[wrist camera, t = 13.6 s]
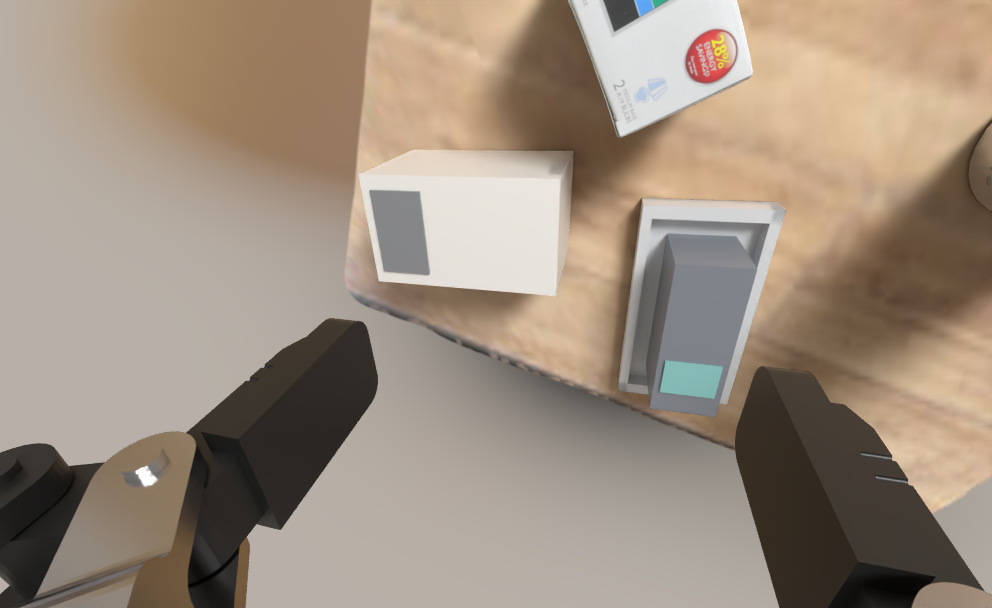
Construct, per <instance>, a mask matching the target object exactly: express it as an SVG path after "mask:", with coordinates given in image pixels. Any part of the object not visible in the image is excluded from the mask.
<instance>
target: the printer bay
mask: <svg viewBox="0 0 992 608" xmlns="http://www.w3.org/2000/svg"><path fill="white" fill-rule="evenodd" d="M573 157H574V151H515V150H411V151H409V152H407V153H405V154H402V155H400V156H398V157H396V158H394V159H391V160H389V161H387V162H385V163H383V164H380V165H378V166H376V167H374V168H372V169H370V170H367V171H365V172H363V173H361V174H359V179H360V184H361V190H362V195H363V200H364V205H365V211H366V216H367V221H368V226H369V232H370V237H371V242H372V247H373V253H374V258H375V263H376V268H377V274H378V279H379V281H383V282H395V283H407V284H419V285H431V286H443V287H454V288H466V289H478V290H490V291H502V292H514V293H526V294H537V295H549V296H556V294H557V290H558V287H559V283H560V279H561V275H562V272H563V268H564V264H565V260H566V256H567V253H568V249H569V236H570V216H571V196H572V177H573Z"/></svg>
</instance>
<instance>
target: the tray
mask: <svg viewBox="0 0 992 608" xmlns="http://www.w3.org/2000/svg"><path fill="white" fill-rule="evenodd" d="M785 212H786V210H785V209H784V208H783V207H782V206H781V205H780V204H779V203H778V202H758V201H726V200H693V199H661V198H642V202H641V210H640V218H639V225H638V233H637V240H636V248H635V255H634V263H633V270H632V278H631V286H630V293H629V301H628V308H627V316H626V323H625V331H624V338H623V346H622V353H621V361H620V369H619V376H618V391H625V392H632V393H640V394H648V384H647V372H646V361H647V354H648V348H649V342H650V336H651V330H652V324H653V318H654V311H655V305H656V299H657V293H658V287H659V281H660V275H661V268H662V262H663V256H664V250H665V244H666V238H667V233H673V234H696V235H719V236H737V238H738V239H739V241H740V242H741V244H742V246H743V247H744V249H745V250H746V252H747V253H748V255H749V256H750V258H751V260H752V261H753V263H754V264H755V266H756V267H757V273H756V276H755V280H754V283H753V287H752V290H751V294H750V297H749V301H748V304H747V308H746V312H745V315H744V319H743V322H742V326H741V329H740V333H739V336H738V340H737V343H736V347H735V350H734V354H733V357H732V361H731V364H730V368H729V371H728V375H727V378H726V382H725V386H724V389H723V393H722V396H721V400H720V403H719V404H724V405H727V403H728V400H729V397H730V393H731V390H732V387H733V383H734V380H735V377H736V373H737V370H738V367H739V364H740V360H741V357H742V354H743V350H744V347H745V344H746V341H747V337H748V334H749V331H750V327H751V324H752V321H753V317H754V314H755V311H756V308H757V304H758V301H759V298H760V294H761V291H762V288H763V285H764V281H765V278H766V275H767V271H768V268H769V265H770V261H771V258H772V255H773V252H774V248H775V245H776V242H777V238H778V235H779V232H780V228H781V225H782V222H783V219H784V215H785Z"/></svg>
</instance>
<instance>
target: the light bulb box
mask: <svg viewBox="0 0 992 608" xmlns="http://www.w3.org/2000/svg"><path fill="white" fill-rule="evenodd" d="M568 2H569V5H570V7H571V10H572V12H573V15H574V17H575V20H576V22H577V25H578V27H579V30H580V32H581V35H582V37H583V40H584V42H585V45H586V47H587V50H588V52H589V55H590V58H591V60H592V63H593V66H594V69H595V72H596V75H597V78H598V81H599V84H600V86H601V89H602V92H603V95H604V98H605V101H606V104H607V107H608V110H609V113H610V116H611V119H612V122H613V125H614V129H615V132H616V135H617V137H618V138H622V137H624V136H626V135H629V134H631V133H633V132H636V131H638V130H640V129H642V128H645V127H647V126H649V125H651V124H653V123H656V122H658V121H660V120H662V119H664V118H667V117H669V116H671V115H673V114H675V113H677V112H680V111H682V110H684V109H686V108H688V107H691V106H693V105H695V104H697V103H699V102H702V101H704V100H706V99H708V98H710V97H712V96H714V95H717V94H719V93H721V92H723V91H725V90H727V89H729V88H731V87H733V86H735V85H737V84H739V83H741V82H743V81H745V80H747V79H749V78H750V77H751V76H752V75H753V70H752V65H751V59H750V54H749V49H748V45H747V40H746V36H745V32H744V28H743V24H742V20H741V16H740V12H739V8H738V4H737V0H568Z"/></svg>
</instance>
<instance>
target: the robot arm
mask: <svg viewBox="0 0 992 608" xmlns="http://www.w3.org/2000/svg"><path fill="white" fill-rule="evenodd" d="M968 177H969V182H970V187H971V190H972V192H973V194H974V195H975V197H976V199H977V200H978V201H979V202H980V203H981V204H982V205H983V206H984V207H985V208H987V209H988V210H990V211H992V123H991V124H990V126H989V127H988V128H987V129H986V130H985V132H984V134H983V135H982V137H981V138H980V140H979V142H978V143H977V145H976V147H975V150H974V152H973V155H972V158H971V161H970V167H969V176H968ZM377 385H378V375H377V370H376V366H375V361H374V357H373V352H372V348H371V343H370V338H369V334H368V330H367V327H366V325H365V324H364V323H363V322H361V321H352V320H343V319H334V318H329V319H327V320H325V321H324V322H323V323H321V324H320V325H319V326H318V327H317V328H316V329H315V330H314V331H312V332H311V333H310V334H309V335H308V336H307V337H305V338H303V339H301V340H299V341H297V342H295V343H293V344H291V345H289V346H288V347H286V348H284V349H282V350H281V351H280V352H279V353H277V354H276V355H275V356H274V357H273V358H272V359H271V360H269V361H268V362H267V363H266V364H265V367H264V368H260V369H259V370H258V371H257V372H256V373H254V374H253V375H252V376H251V377H250V380H249V381H245V382H244V383H243V384H242V385H241V386H240V387H238V388H237V389H236V390H235V391H234V392H233V393H231V394H230V395H229V396H228V397H227V398H226V399H225V400H224V401H222V402H221V403H220V404H219V405H218V406H216V407H215V408H214V409H213V410H212V411H211V412H210V413H209V414H207V415H206V416H205V417H204V418H203V419H202V420H200V421H199V422H198V423H197V424H196V425H195V426H194V427H192V428H191V429H190V430H189V431H188V432H187V433H184V432H164V433H159V434H155V435H152V436H149V437H146V438H144V439H141V440H139V441H137V442H135V443H133V444H131V445H129V446H127V447H125V448H124V449H122V450H120V451H119V452H118V453H116V454H115V455H113V456H112V457H111V458H110V459H108V460H107V461H106V462H104V463H94V464H85V465H75V466H68V465H67V464H66V462H65V461H64V460H63V458H62V457H61V456H60V455H59V453H58V452H57V451H56V449H55V448H54V447H53V446H51V445H48V444H40V443H39V444H29V445H24V446H20V447H16V448H12V449H10V450H7V451H4V452H1V453H0V577H1V578H2V579H3V580H4V581H6V582H7V583H8V584H9V585H10V586H9V587H8V588H7V589H5V590H4V591H3V592H2V593H1V594H0V608H245V606H246V594H247V580H248V567H249V554H250V544H249V541H248V538H247V536H248V534H249V533H250V532H251V531H252V529H253V528H254V527H255V525H256V524H258V525H262V526H266V527H270V528H274V529H279V530H281V529H282V527H283V526H284V525H285V523H286V522H287V520H288V519H289V518H290V516H291V515H292V513H293V512H294V511H295V509H296V508H297V506H298V505H299V504H300V502H301V501H302V499H303V498H304V497H305V495H306V494H307V492H308V491H309V490H310V488H311V487H312V485H313V484H314V483H315V481H316V480H317V478H318V477H319V475H320V474H321V473H322V471H323V470H324V469H325V467H326V466H327V464H328V463H329V462H330V460H331V459H332V457H333V456H334V455H335V453H336V452H337V450H338V449H339V448H340V446H341V445H342V443H343V442H344V441H345V439H346V438H347V436H348V435H349V434H350V432H351V431H352V429H353V428H354V427H355V425H356V424H357V422H358V421H359V420H360V418H361V417H362V415H363V414H364V413H365V411H366V410H367V408H368V407H369V405H370V404H371V403H372V401H373V399H374V397H375V394H376V391H377ZM735 451H736V458H737V463H738V466H739V470H740V473H741V476H742V480H743V483H744V487H745V490H746V493H747V497H748V501H749V504H750V507H751V511H752V515H753V518H754V521H755V525H756V528H757V532H758V535H759V538H760V542H761V546H762V549H763V553H764V556H765V559H766V563H767V566H768V570H769V573H770V576H771V580H772V584H773V587H774V591H775V594H776V598H777V601H778V604H779V608H992V594H989V593H987V592H985V591H984V589H983V588H982V587H981V586H980V584H979V583H978V581H977V580H976V578H975V577H974V575H973V574H972V572H971V571H970V569H969V568H968V566H967V565H966V564H965V562H964V560H963V559H962V558H961V556H960V555H959V553H958V552H957V550H956V549H955V547H954V546H953V544H952V543H951V542H950V540H949V538H948V537H947V536H946V534H945V533H944V531H943V530H942V528H941V527H940V525H939V524H938V522H937V521H936V519H935V518H934V517H933V515H932V513H931V512H930V511H929V509H928V508H927V506H926V505H925V503H924V502H923V500H922V499H921V497H920V496H919V494H918V493H917V491H916V490H915V489H914V487H913V486H910V485H909V484H908V478H907V477H906V475H905V474H904V472H903V471H902V469H901V468H900V466H899V465H898V464H897V462H896V461H892V455H891V453H890V452H889V450H888V449H887V447H886V446H885V444H884V443H883V442H882V440H881V439H880V437H879V436H878V434H877V433H876V431H875V430H874V428H872V427H871V426H870V425H869V424H867V423H866V422H865V421H864V420H863V419H861V418H860V417H859V416H858V415H856V414H855V413H854V412H853V411H852V410H850V409H849V408H848V407H847V406H845V405H844V404H836V403H830V401H829V399H828V398H827V396H826V394H825V393H824V391H823V389H822V388H821V386H820V385H819V383H818V381H817V380H816V378H815V377H814V375H813V374H812V373H810V372H808V371H799V370H790V369H781V368H772V367H763V366H762V367H759V368H758V369H757V371H756V373H755V375H754V377H753V380H752V383H751V387H750V390H749V393H748V396H747V399H746V402H745V405H744V408H743V411H742V414H741V417H740V420H739V423H738V426H737V430H736V437H735Z"/></svg>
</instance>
